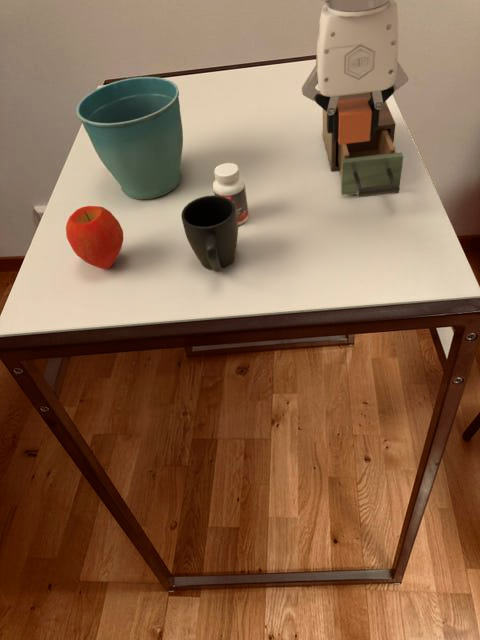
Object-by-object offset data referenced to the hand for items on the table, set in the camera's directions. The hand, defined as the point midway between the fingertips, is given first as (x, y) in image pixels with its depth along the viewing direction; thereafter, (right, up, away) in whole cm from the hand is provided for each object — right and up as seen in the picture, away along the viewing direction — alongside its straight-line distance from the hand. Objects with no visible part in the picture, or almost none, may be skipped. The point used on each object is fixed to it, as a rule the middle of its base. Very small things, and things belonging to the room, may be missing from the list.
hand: (351, 133), depth 74 cm
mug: (-20, -19, +7) cm, 28 cm away
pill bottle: (-17, -10, +15) cm, 25 cm away
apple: (-39, -18, +11) cm, 44 cm away
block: (0, 0, 0) cm, 0 cm away
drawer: (+6, -3, +16) cm, 18 cm away
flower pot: (-34, 0, +26) cm, 43 cm away
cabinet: (+6, +6, +25) cm, 27 cm away
